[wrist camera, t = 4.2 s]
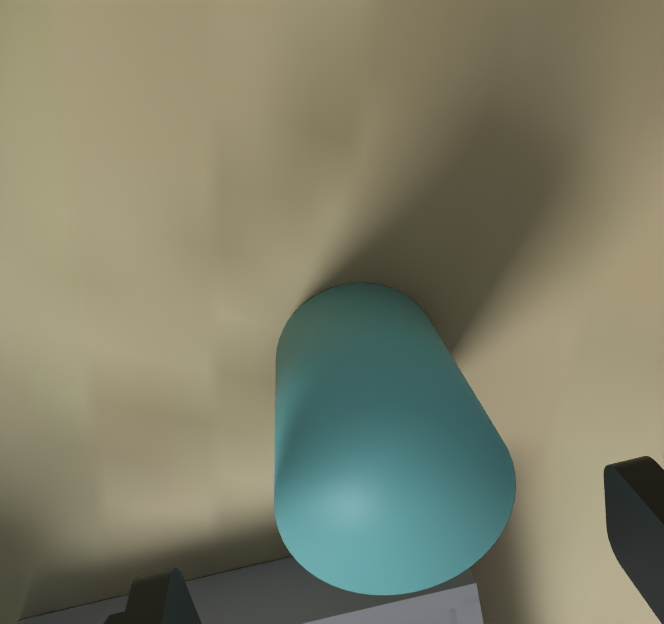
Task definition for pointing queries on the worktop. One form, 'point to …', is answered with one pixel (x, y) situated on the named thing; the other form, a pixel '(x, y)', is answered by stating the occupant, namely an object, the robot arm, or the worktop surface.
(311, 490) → the teal capsule
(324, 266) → the worktop surface
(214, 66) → the worktop surface
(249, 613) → the tray
